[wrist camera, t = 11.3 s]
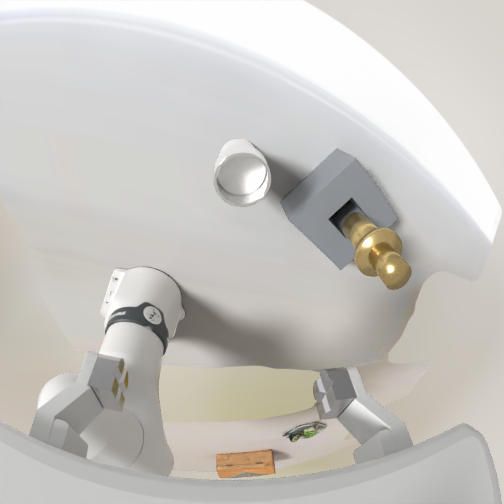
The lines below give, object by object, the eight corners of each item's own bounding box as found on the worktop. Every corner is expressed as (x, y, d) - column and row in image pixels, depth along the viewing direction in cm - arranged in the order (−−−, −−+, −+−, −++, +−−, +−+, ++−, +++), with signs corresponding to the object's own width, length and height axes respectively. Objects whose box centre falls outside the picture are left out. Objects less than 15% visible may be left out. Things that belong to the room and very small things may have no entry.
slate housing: (327, 247, 54) (340, 270, 47) (280, 202, 48) (289, 220, 41) (378, 201, 49) (398, 218, 42) (336, 148, 43) (356, 158, 37)
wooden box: (222, 460, 124) (223, 480, 112) (215, 453, 116) (216, 475, 104) (273, 455, 124) (276, 475, 112) (271, 448, 115) (274, 470, 104)
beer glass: (262, 139, 42) (278, 155, 29) (255, 178, 45) (267, 212, 33) (220, 133, 41) (216, 146, 28) (214, 173, 44) (208, 205, 32)
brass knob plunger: (350, 252, 42) (387, 308, 30) (326, 226, 39) (363, 281, 28) (381, 224, 40) (428, 273, 28) (359, 195, 37) (409, 240, 25)
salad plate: (303, 418, 96) (305, 427, 92) (334, 419, 101) (336, 428, 97) (278, 434, 104) (279, 443, 100) (308, 435, 109) (310, 443, 106)
